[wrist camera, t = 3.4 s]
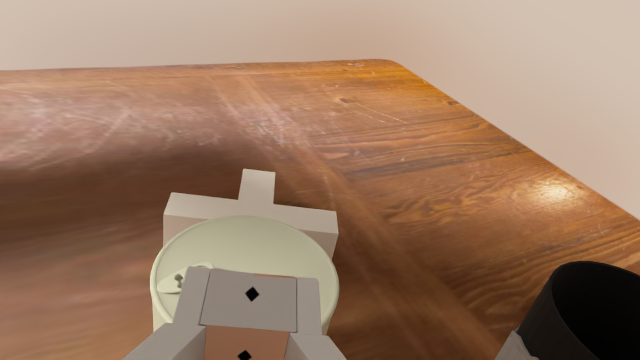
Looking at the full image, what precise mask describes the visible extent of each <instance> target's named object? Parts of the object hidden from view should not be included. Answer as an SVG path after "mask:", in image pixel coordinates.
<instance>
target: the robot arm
mask: <svg viewBox="0 0 640 360" xmlns="http://www.w3.org/2000/svg"><path fill="white" fill-rule="evenodd" d="M122 360H347V359H346V358H345V357H344V355H343V354H342V353H341V352H340V350H339V349H338V348H337V346H336V345H335V344H334V343H333V341H332V340H331V339H330V337H329V336H325V335H322V327H321V310H320V294H319V281H318V279H317V278H305V277H293V276H282V275H270V274H259V273H246V272H238V271H230V270H222V269H213V268H211V269H209V268H201V267H193V266H189V267H188V269H187V270H186V273H185V277H184V280H183V284H182V288H181V292H180V295H179V299H178V303H177V306H176V310H175V314H174V317H173V321H172V323H164V324H163V325H162V326H161V327H159V328H158V329H157V330H156V331H155V332H154V333H152V334H151V335H150V336H149V337H148V338H147V339H145V340H144V341H143V342H142V343H141V344H139V345H138V346H137V347H136V348H135V349H134V350H132V351H131V352H130V353H129V354H128V355H127V356H125V357H124V358H123V359H122Z"/></svg>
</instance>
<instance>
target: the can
mask: <svg viewBox="0 0 640 360" xmlns="http://www.w3.org/2000/svg"><path fill="white" fill-rule="evenodd" d="M189 266H193V267H201V268H209V269H211V268H213V269H222V270H230V271H238V272H246V273H259V274H270V275H282V276H293V277H305V278H317V279H318V281H319V294H320V310H321V327H322V335H325V336H326V333H327V330H328V326H329V323H330V320H331V317H332V315H333V313H334V311H335V308H336V306H337V302H338V298H339V280H338V275H337V272H336V269H335V266H334V264H333V262H332V260H331V259H330V257H329V256H328V254H327V253H326V251H325V250H324V249H323V248H322V247H321V246H320V245H319V244H318V243H317V242H316V241H314V240H313V239H312V238H311V237H309V236H308V235H307V234H305V233H303V232H302V231H300V230H298V229H296V228H294V227H292V226H290V225H287V224H285V223H282V222H279V221H276V220H272V219H268V218H263V217H256V216H225V217H219V218H214V219H210V220H206V221H203V222H200V223H197V224H195V225H193V226H191V227H189V228H187V229H185V230H183V231H181V232H180V233H178V234H177V235H176V236H174V237H173V238H172V239H171V240H170V241H169V242H168V243H167V244H166V245H165V246H164V247H163V248H162V250H161V251H160V252H159V254H158V256H157V257H156V259H155V262H154V264H153V267H152V271H151V276H150V291H151V296H152V303H153V326H154V332H155V331H156V330H157V329H158V328H159V327H161V326H162V325H163V324H164V323H172V321H173V317H174V314H175V310H176V306H177V303H178V299H179V295H180V292H181V288H182V284H183V280H184V277H185V273H186V270H187V269H188V267H189Z"/></svg>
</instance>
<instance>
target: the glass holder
mask: <svg viewBox="0 0 640 360" xmlns="http://www.w3.org/2000/svg"><path fill="white" fill-rule="evenodd" d="M495 360H640V276H639V275H637V274H635V273H633V272H630V271H627V270H625V269H622V268H619V267H616V266H612V265H608V264H605V263H599V262H593V261H576V262H569V263H566V264H564V265H561V266H560V267H558V268H557V269H556V270H555V271H554V272H553V273H552V275H551V276H550V278H549V280H548V281H547V283H546V284H545V286H544V288H543V289H542V291H541V292H540V294H539V296H538V297H537V299H536V301H535V302H534V304H533V305H532V307H531V309H530V310H529V312H528V314H527V315H526V317H525V318H524V320H523V322H522V323H521V325H519V326H518V328H517V329H516V330H515V331H513V330H512V332H511V334H510V335H509V337H508V338H507V340H506V342H505V343H504V345H503V347H502V348H501V350H500V352H499V353H498V355H497V356H496V358H495Z"/></svg>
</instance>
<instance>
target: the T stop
mask: <svg viewBox="0 0 640 360" xmlns="http://www.w3.org/2000/svg"><path fill="white" fill-rule="evenodd" d="M274 185H275V172H267V171H259V170H251V169H243V174H242V180H241V186H240V191H239V197H238V200H234V199H225V198H217V197H208V196H200V195H191V194H183V193H174V192H172V193H171V195H170V198H169V200H168V203H167V206H166V208H165V211H164V214H163V247H164V246H165V245H166V244H167V243H168V242H169V241H170V240H171V239H172V238H173V237H174V236H176V235H177V234H178V233H180V232H181V231H183V230H185V229H187V228H189V227H191V226H193V225H195V224H197V223H200V222H203V221H206V220H210V219H214V218H219V217H225V216H256V217H263V218H268V219H272V220H276V221H279V222H282V223H285V224H287V225H290V226H292V227H294V228H296V229H298V230H300V231H302V232H303V233H305V234H307V235H308V236H309V237H311V238H312V239H313V240H314V241H316V242H317V243H318V244H319V245H320V246H321V247H322V248H323V249H324V250H325V251H326V253H327V254H328V256H329V257H330V259H331V260H332V257H333V253H334V249H335V246H336V242H337V238H338V234H339V233H338V224H337V216H336V211H328V210H319V209H311V208H302V207H294V206H285V205H277V204H273V200H274Z"/></svg>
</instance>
